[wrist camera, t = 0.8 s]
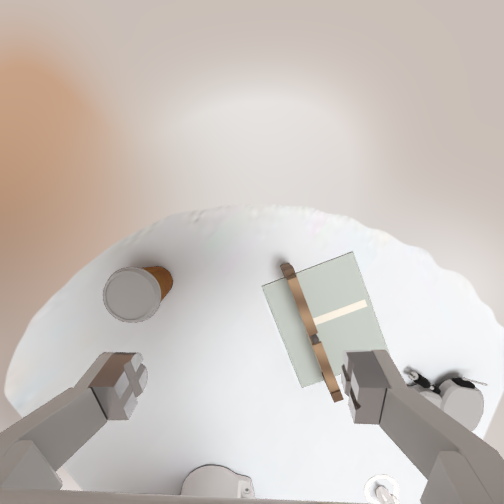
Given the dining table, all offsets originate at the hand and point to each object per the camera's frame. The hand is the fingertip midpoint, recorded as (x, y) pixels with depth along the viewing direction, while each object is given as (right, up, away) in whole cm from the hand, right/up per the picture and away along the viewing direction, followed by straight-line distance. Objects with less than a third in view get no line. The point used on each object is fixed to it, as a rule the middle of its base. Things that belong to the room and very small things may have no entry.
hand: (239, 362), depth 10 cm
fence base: (+14, -17, +43) cm, 48 cm away
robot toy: (+40, -27, +44) cm, 65 cm away
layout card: (+16, -10, +42) cm, 46 cm away
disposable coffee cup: (-19, -2, +42) cm, 46 cm away
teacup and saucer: (+29, -52, +47) cm, 76 cm away
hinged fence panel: (+9, -4, +40) cm, 42 cm away
